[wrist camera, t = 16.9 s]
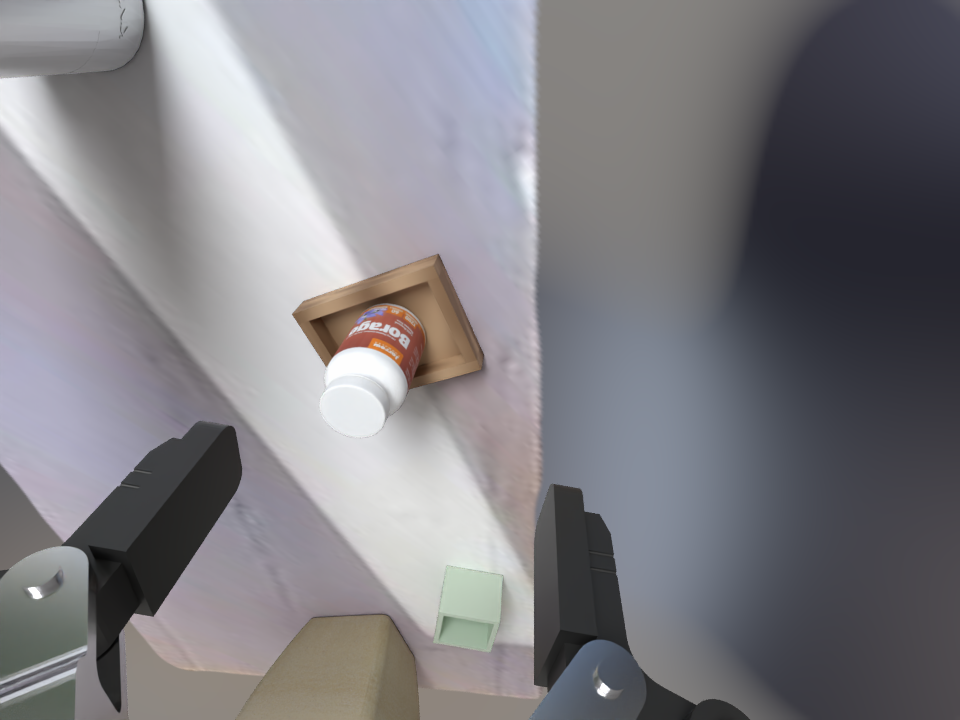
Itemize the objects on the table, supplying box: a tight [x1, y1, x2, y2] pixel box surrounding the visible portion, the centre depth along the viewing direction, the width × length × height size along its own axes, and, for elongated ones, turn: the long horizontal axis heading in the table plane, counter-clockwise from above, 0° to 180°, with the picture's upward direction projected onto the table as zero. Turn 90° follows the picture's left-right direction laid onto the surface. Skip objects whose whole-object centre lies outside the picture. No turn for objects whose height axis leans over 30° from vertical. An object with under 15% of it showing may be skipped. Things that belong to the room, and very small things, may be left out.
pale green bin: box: [433, 566, 503, 653], centre depth 61 cm, size 7×7×6 cm
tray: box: [292, 254, 484, 389], centre depth 42 cm, size 13×10×2 cm
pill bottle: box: [319, 303, 426, 438], centre depth 38 cm, size 6×6×11 cm
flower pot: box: [235, 614, 420, 720], centre depth 66 cm, size 19×19×17 cm
